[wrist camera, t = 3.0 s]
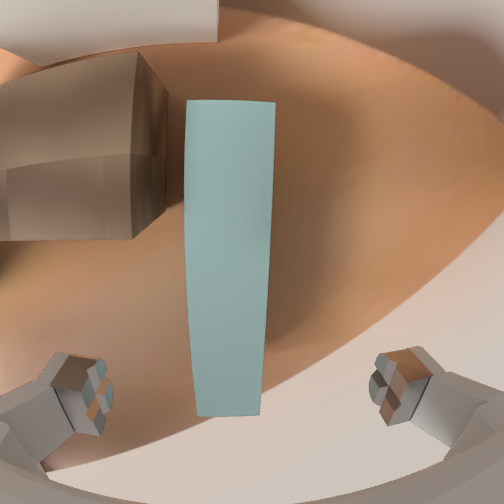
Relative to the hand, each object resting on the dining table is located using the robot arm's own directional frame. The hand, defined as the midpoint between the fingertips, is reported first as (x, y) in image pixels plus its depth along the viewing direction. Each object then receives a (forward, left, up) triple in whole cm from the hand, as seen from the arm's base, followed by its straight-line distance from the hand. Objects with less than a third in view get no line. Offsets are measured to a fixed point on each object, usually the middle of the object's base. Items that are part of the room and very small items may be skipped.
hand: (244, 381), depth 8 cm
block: (+7, +8, -14) cm, 17 cm away
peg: (0, 0, -11) cm, 11 cm away
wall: (+16, +8, -14) cm, 22 cm away
